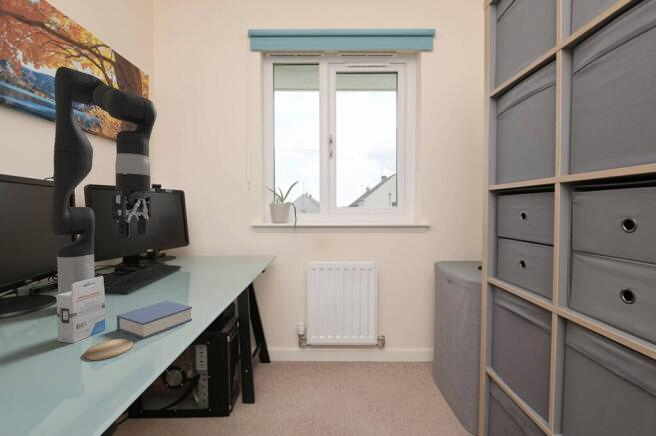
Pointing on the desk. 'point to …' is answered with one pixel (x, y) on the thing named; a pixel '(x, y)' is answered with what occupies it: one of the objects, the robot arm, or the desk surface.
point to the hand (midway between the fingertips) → (133, 235)
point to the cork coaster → (108, 349)
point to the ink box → (81, 311)
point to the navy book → (153, 319)
